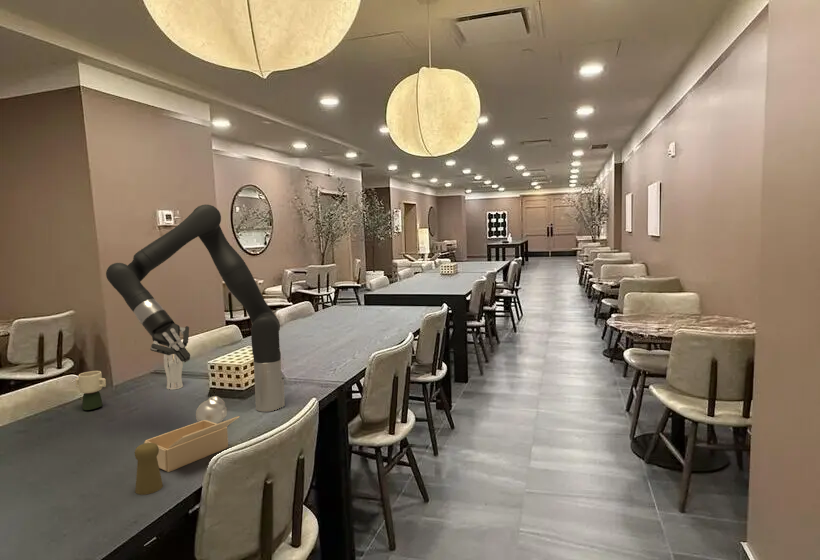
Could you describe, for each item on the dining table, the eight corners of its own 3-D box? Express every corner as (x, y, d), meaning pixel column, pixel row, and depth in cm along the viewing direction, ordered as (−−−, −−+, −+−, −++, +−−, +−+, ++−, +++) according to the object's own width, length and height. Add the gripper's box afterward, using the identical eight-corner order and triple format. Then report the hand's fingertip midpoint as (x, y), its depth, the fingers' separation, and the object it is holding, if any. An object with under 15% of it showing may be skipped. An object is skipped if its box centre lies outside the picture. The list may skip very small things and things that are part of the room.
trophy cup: (113, 405, 185) (111, 370, 184) (101, 412, 178) (98, 376, 176) (84, 405, 185) (81, 370, 184) (70, 412, 178) (68, 376, 177)
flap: (225, 426, 145) (239, 415, 141) (225, 427, 145) (239, 416, 141) (168, 447, 131) (182, 436, 127) (169, 448, 131) (182, 437, 127)
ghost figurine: (214, 433, 156) (212, 402, 155) (190, 430, 160) (188, 399, 159) (233, 423, 165) (232, 393, 164) (210, 420, 168) (209, 390, 167)
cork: (141, 483, 126) (138, 440, 125) (166, 481, 126) (164, 439, 125) (130, 495, 120) (127, 450, 119) (156, 493, 120) (154, 449, 119)
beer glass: (188, 385, 208) (185, 349, 206) (175, 390, 201) (172, 353, 200) (174, 384, 210) (172, 348, 208) (161, 389, 203) (159, 352, 202)
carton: (205, 438, 153) (204, 419, 152) (229, 447, 146) (228, 427, 146) (143, 462, 137) (142, 440, 137) (167, 472, 131) (165, 450, 130)
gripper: (133, 321, 147) (169, 366, 146) (174, 301, 157) (209, 344, 155) (131, 332, 153) (165, 376, 151) (170, 313, 162) (203, 354, 160)
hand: (187, 360), depth 153 cm, fingers closed
